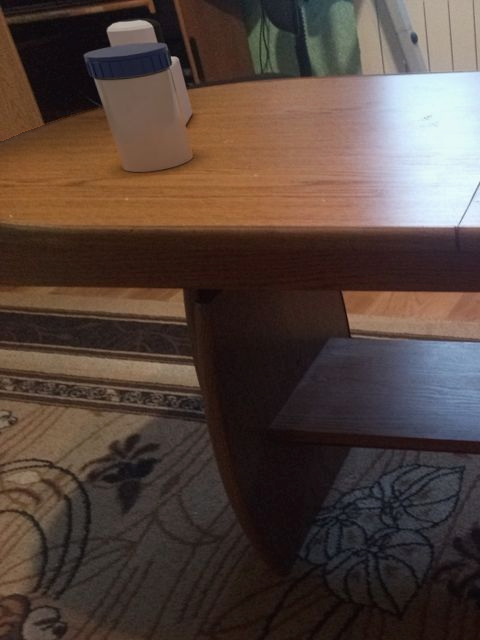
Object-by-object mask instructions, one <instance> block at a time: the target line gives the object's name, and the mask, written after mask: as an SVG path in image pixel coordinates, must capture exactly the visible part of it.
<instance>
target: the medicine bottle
mask: <svg viewBox="0 0 480 640" xmlns="http://www.w3.org/2000/svg"><path fill="white" fill-rule="evenodd" d="M105 33H106V36H107V40H108V43H109V47H113V46H120V45H128V44H137V43H164V44H166V42H165V38H164V34H163V30H162V26H161V24H160V23H159V21H157V20H155V19H152V18H149V17H148V18H129V19H124V20H119V21H113V22H112V23H110V24H109V25H107V26H106V29H105ZM171 60H172V65H171V66H170V69H171V73H172V77H173V80H174V84H175V88H176V92H177V95H178V99H179V103H180V107H181V111H182V114H183V118H184V122H185V126H187V124H188V123H189V121H190V119H191V116H192V115H193V108H192V104H191V101H190V97H189V92H188V90H187V85H186V81H185V78H184V73H183V70H182V65H181V62H180V59H179V57H177V56H171Z"/></svg>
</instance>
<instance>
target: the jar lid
mask: <svg viewBox="0 0 480 640" xmlns="http://www.w3.org/2000/svg"><path fill="white" fill-rule="evenodd" d="M171 57H172V56H171V52H170V49H169V48H168V44H167V43H165V44H164V43H137V44H128V45H120V46H113V47H111V46H107V47H103V48H98V49H95V50H91V51H87V52H86V53H84V54H83V58H84V64H85V66H86V70H87V72H88V73H87V74H88V75H89V76H90V77H91V78H93V79H94V78H122V77H131V76H138V75H144V74H149V73H153V72H157V71H161V70H164V69H167V68H169V67H170V66H171V65H172V60H171Z"/></svg>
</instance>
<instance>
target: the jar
mask: <svg viewBox="0 0 480 640" xmlns="http://www.w3.org/2000/svg"><path fill="white" fill-rule="evenodd" d="M93 80H94V83H95V87H96V90H97V93H98V97H99V99H100V101H101V104H102V109H103V111H104V114H105V119H106V121H107V124H108V128H109V130H110V133H111V136H112V140H113V142H114V146H115V149H116V153H117V156H118V158H119V162H120V164H121V168H122V169H123V170H124V171H126V172H131V173H147V172H148V173H149V172H157V171H163V170H168V169H171V168H175V167H178V166H181V165H184V164H186V163H188V162H190V161H192V159H193V158H194V152H193V148H192V145H191V141H190V138H189V134H188V129H187V125H185V122H184V118H183V114H182V111H181V107H180V103H179V99H178V95H177V92H176V88H175V84H174V80H173V77H172V73H171V69H170V67H169V68H167V69H164V70H161V71H157V72H153V73H149V74H144V75H138V76H131V77H122V78H94V77H93Z"/></svg>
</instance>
